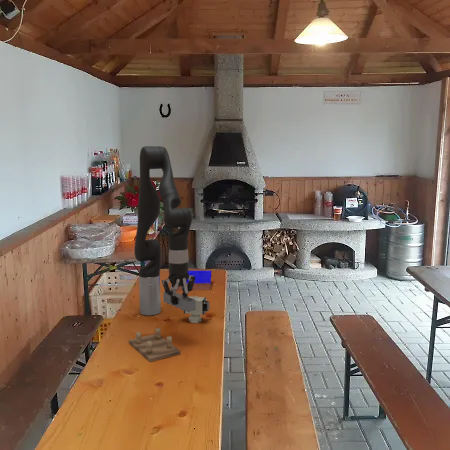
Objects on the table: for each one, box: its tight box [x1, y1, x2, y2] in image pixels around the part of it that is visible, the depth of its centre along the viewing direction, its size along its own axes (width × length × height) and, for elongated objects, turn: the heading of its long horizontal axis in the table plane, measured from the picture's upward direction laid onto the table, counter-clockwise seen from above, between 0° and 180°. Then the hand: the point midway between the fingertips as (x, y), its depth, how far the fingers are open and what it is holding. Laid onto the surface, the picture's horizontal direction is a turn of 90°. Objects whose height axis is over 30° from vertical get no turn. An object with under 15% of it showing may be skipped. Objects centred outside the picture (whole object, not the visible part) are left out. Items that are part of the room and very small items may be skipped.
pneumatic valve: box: [180, 295, 210, 324], centre depth 205 cm, size 6×12×12 cm, turn 79°
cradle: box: [128, 327, 181, 363], centre depth 179 cm, size 20×12×5 cm, turn 33°
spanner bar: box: [162, 291, 196, 312], centre depth 185 cm, size 16×4×4 cm, turn 42°
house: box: [176, 270, 212, 291], centre depth 249 cm, size 12×20×12 cm, turn 89°
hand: (179, 303), depth 185 cm, fingers closed on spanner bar, 4 cm apart
